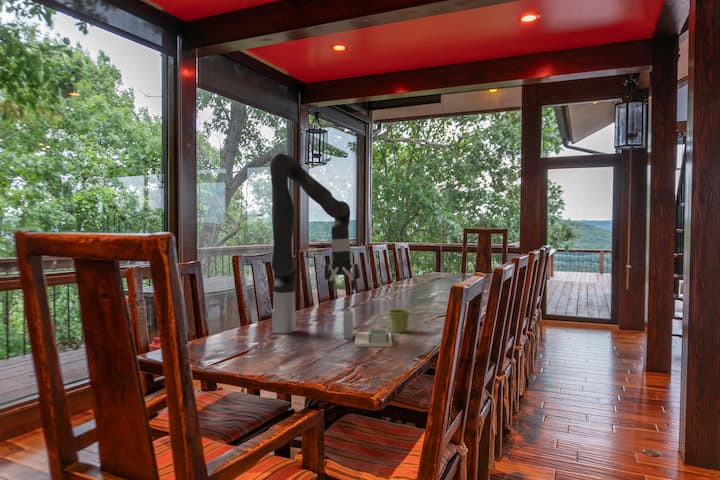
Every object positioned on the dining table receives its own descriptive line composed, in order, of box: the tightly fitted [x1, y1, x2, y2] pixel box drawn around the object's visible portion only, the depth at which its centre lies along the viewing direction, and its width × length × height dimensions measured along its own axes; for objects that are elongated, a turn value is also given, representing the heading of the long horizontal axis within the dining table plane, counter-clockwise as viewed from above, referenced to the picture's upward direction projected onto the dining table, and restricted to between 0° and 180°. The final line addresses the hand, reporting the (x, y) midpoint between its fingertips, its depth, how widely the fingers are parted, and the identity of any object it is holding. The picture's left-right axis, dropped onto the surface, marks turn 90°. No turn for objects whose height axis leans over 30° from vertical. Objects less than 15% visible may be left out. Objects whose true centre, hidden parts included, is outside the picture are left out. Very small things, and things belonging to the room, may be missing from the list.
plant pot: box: [387, 308, 411, 334], centre depth 195 cm, size 9×9×9 cm
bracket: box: [343, 310, 354, 340], centre depth 186 cm, size 4×6×10 cm, turn 178°
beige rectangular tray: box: [354, 328, 393, 348], centre depth 179 cm, size 14×18×4 cm
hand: (342, 289), depth 187 cm, fingers open, 8 cm apart
